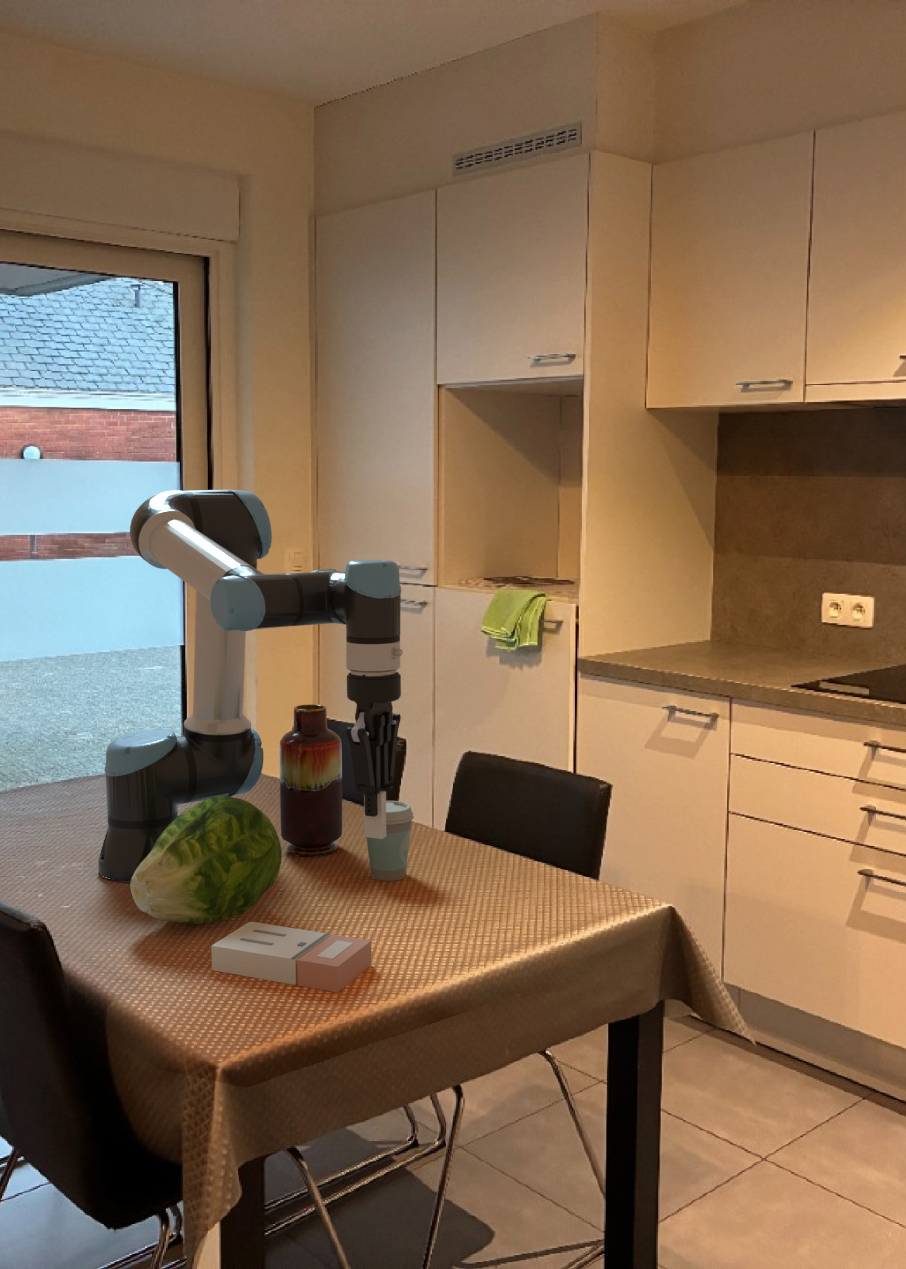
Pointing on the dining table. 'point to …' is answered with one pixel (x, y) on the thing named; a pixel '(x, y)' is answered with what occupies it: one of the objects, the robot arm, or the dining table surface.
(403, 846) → the coffee cup
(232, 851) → the lettuce
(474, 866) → the dining table surface
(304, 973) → the stub
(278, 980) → the two-slot toaster
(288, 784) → the vase
